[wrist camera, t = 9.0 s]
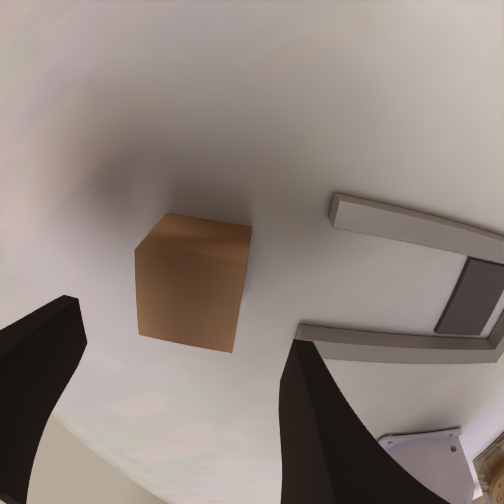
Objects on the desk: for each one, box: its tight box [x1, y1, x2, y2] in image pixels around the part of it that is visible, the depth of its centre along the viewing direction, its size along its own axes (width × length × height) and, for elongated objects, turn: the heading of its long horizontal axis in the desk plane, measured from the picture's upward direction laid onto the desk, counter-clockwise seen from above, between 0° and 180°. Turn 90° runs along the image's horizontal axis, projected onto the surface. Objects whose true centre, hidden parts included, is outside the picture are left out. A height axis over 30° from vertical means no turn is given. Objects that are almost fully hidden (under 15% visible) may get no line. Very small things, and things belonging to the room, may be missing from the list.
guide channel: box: [295, 193, 504, 364], centre depth 15 cm, size 15×8×1 cm, turn 81°
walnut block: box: [135, 214, 252, 353], centre depth 13 cm, size 4×4×4 cm
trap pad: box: [434, 257, 504, 335], centre depth 15 cm, size 4×5×1 cm
